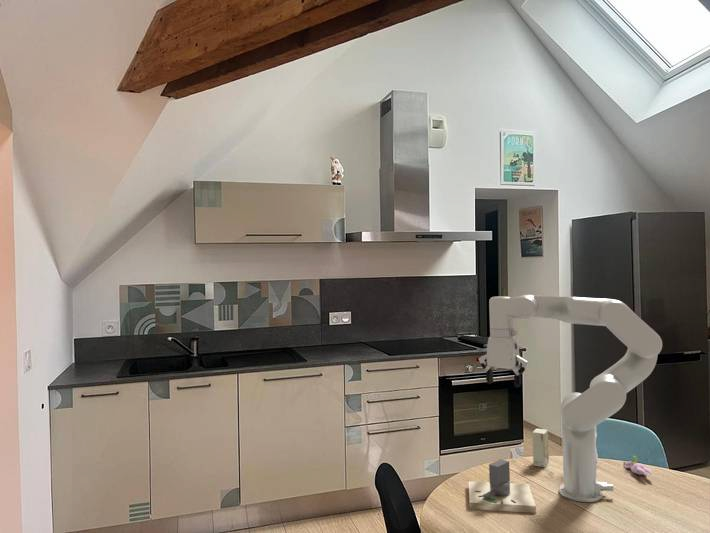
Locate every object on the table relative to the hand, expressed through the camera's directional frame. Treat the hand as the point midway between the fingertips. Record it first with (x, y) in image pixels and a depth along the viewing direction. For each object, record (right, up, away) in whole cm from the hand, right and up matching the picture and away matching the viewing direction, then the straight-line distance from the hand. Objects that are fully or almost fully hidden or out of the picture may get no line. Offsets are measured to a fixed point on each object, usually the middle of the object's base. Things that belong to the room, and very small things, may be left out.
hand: (503, 384), depth 172 cm
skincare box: (+19, -33, +17) cm, 42 cm away
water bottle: (+35, -33, +15) cm, 50 cm away
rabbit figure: (+48, -32, +6) cm, 58 cm away
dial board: (-4, -33, -11) cm, 35 cm away
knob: (-6, -31, -12) cm, 34 cm away
